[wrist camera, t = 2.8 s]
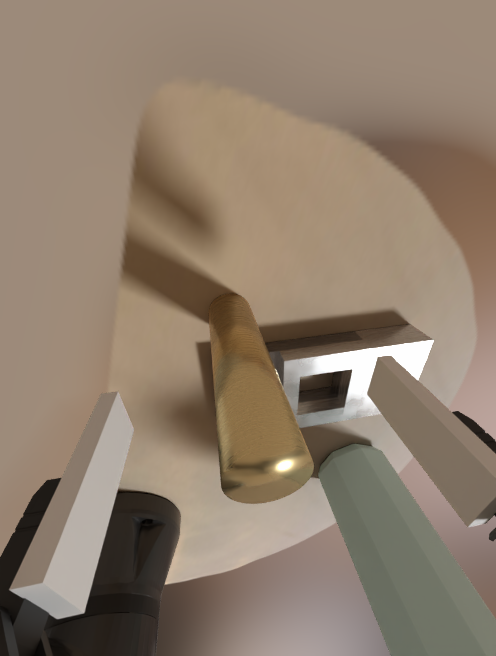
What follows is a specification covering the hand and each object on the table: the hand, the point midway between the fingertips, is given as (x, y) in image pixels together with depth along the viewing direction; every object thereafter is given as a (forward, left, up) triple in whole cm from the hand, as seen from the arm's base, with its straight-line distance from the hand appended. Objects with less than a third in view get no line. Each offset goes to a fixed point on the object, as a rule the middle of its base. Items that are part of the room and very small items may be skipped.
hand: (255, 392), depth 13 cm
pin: (0, 0, -10) cm, 10 cm away
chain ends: (+8, -8, -10) cm, 15 cm away
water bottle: (+15, -26, -10) cm, 32 cm away
